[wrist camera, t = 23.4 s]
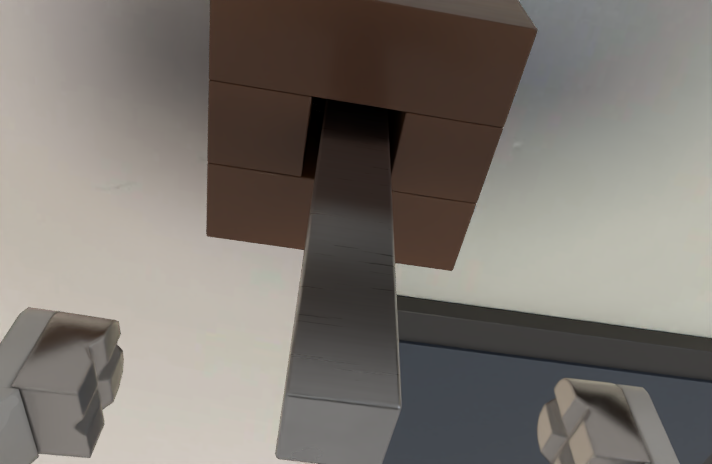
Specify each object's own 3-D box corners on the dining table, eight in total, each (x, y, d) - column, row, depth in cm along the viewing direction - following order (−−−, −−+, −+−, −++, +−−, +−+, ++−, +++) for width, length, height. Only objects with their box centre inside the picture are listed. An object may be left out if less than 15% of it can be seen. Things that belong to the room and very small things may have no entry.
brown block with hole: (243, -69, 19) (209, -30, 15) (505, -21, 20) (538, 29, 16) (232, 162, 24) (205, 236, 21) (440, 194, 25) (452, 271, 21)
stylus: (332, 55, 22) (284, 393, 10) (385, 64, 22) (403, 408, 10) (325, 105, 23) (274, 460, 11) (375, 113, 23) (380, 472, 11)
